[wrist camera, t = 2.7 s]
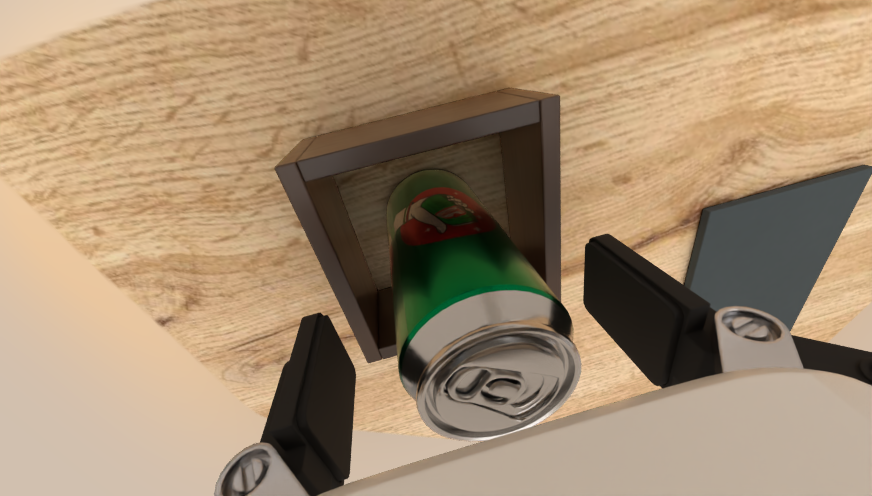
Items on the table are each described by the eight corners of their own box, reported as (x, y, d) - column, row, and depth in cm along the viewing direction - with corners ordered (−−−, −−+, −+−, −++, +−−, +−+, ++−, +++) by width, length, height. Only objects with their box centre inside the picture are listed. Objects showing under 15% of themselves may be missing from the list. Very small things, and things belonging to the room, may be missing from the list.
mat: (702, 208, 22) (710, 211, 21) (864, 164, 22) (876, 166, 22) (661, 375, 31) (665, 381, 30) (775, 342, 31) (782, 347, 31)
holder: (301, 139, 15) (272, 167, 11) (510, 87, 16) (561, 94, 12) (369, 303, 21) (367, 364, 17) (523, 261, 21) (561, 309, 17)
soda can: (446, 259, 20) (521, 459, 10) (371, 230, 18) (367, 438, 8) (489, 189, 18) (636, 346, 8) (410, 149, 16) (469, 285, 6)
